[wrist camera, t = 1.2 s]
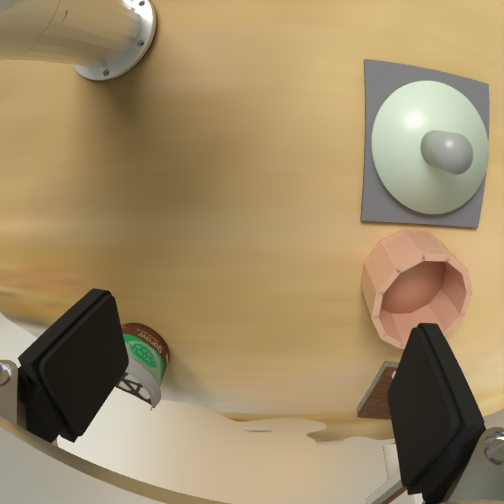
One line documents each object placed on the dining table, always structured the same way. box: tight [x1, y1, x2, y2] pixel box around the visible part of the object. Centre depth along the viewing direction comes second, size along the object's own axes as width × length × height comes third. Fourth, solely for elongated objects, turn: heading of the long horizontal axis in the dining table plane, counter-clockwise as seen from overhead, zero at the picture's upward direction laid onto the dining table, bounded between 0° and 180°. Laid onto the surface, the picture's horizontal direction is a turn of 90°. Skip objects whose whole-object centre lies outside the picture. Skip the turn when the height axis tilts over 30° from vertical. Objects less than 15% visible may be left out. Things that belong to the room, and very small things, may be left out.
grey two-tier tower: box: [357, 361, 424, 504], centre depth 28 cm, size 11×11×35 cm
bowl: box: [361, 229, 472, 349], centre depth 33 cm, size 12×12×7 cm
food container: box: [115, 323, 169, 410], centre depth 41 cm, size 12×6×10 cm, turn 59°
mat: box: [361, 59, 489, 228], centre depth 30 cm, size 18×16×1 cm
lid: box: [370, 81, 489, 214], centre depth 27 cm, size 15×15×6 cm
